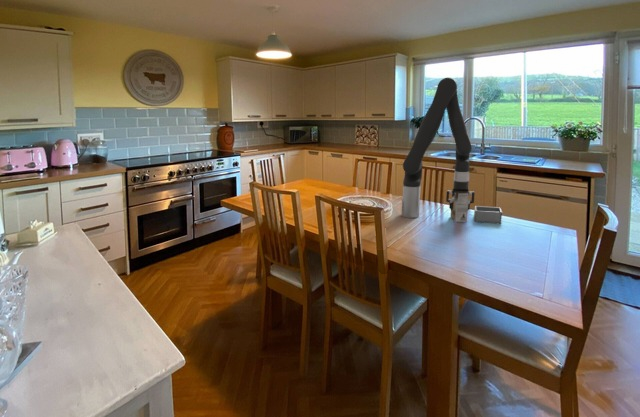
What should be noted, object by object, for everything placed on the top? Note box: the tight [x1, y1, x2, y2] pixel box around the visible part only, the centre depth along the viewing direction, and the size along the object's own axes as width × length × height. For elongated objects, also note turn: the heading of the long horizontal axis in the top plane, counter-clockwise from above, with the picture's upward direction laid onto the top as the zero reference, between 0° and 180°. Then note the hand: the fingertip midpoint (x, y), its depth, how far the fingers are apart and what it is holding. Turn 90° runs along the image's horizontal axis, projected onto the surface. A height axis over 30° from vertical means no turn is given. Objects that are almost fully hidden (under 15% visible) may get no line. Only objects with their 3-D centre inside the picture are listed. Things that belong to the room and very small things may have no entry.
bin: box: [473, 205, 503, 224], centre depth 202 cm, size 13×10×6 cm
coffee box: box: [450, 188, 470, 223], centre depth 203 cm, size 9×6×16 cm
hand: (459, 209), depth 204 cm, fingers closed on coffee box, 7 cm apart
